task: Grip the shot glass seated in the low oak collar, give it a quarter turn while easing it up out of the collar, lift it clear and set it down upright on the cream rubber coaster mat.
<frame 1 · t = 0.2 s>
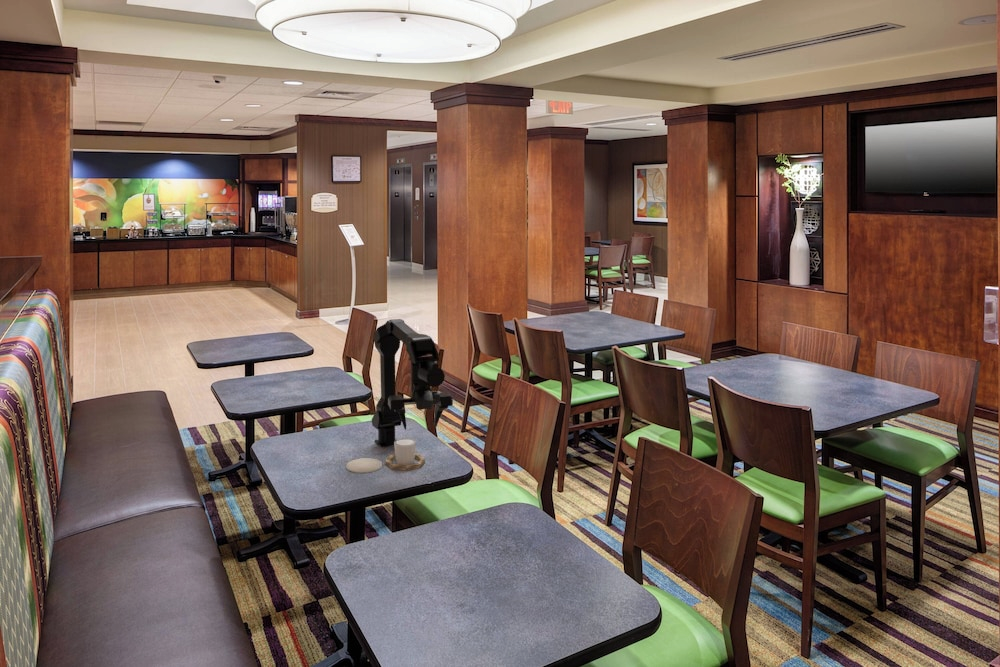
hand: (420, 427, 217), 14 cm above the table, fingers open, 9 cm apart
shot glass: (405, 463, 225), resting in oak collar
oak collar: (405, 463, 225), on the table
coaster mat: (364, 466, 222), on the table
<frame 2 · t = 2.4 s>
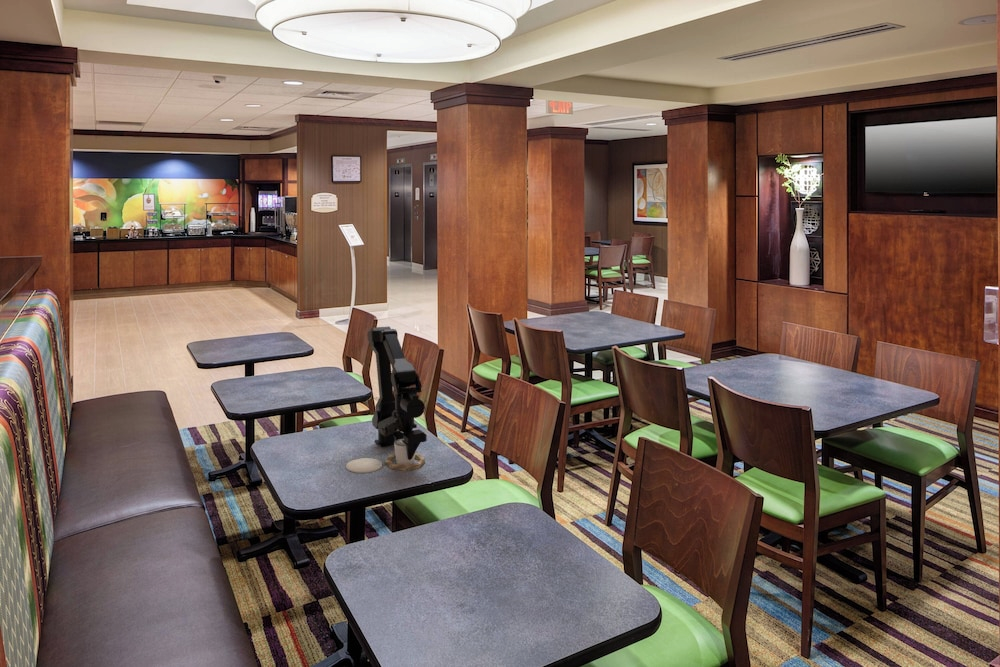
hand: (405, 456, 225), 2 cm above the table, fingers closed on shot glass, 6 cm apart
shot glass: (405, 463, 225), resting in oak collar, touching gripper
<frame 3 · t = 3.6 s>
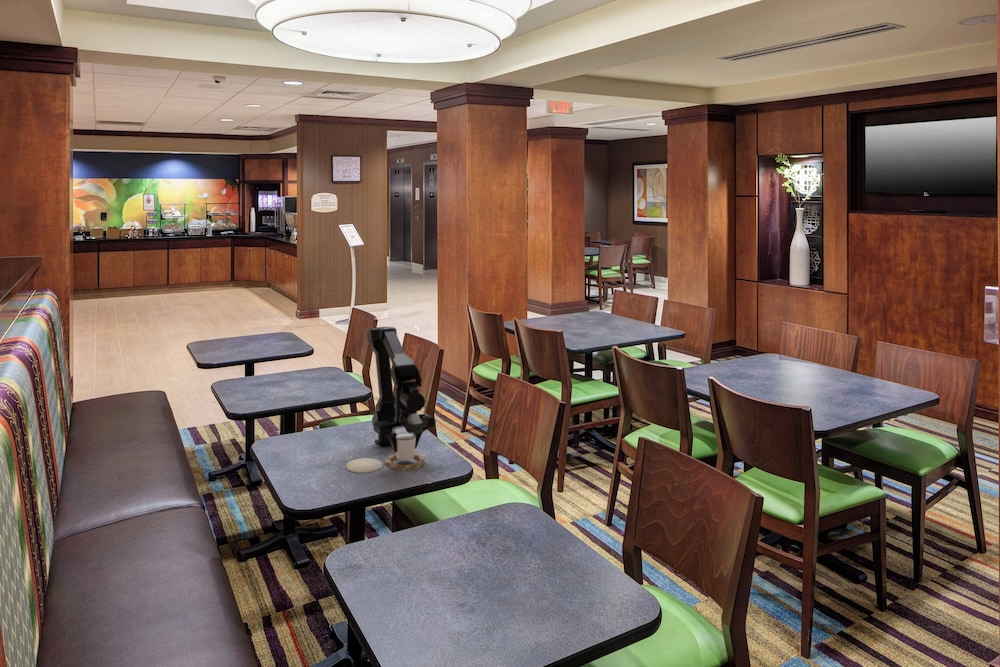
hand: (405, 450, 224), 4 cm above the table, fingers closed on shot glass, 6 cm apart
shot glass: (405, 457, 225), point 2 cm above the table, touching gripper
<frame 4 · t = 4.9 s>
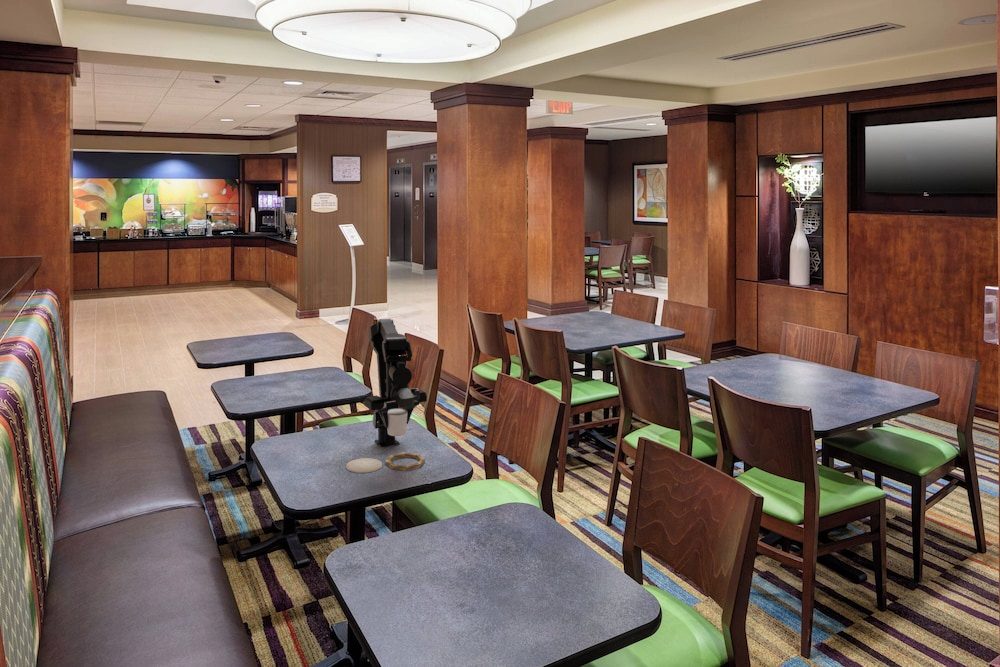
hand: (396, 425, 222), 12 cm above the table, fingers closed on shot glass, 6 cm apart
shot glass: (396, 433, 222), point 10 cm above the table, touching gripper
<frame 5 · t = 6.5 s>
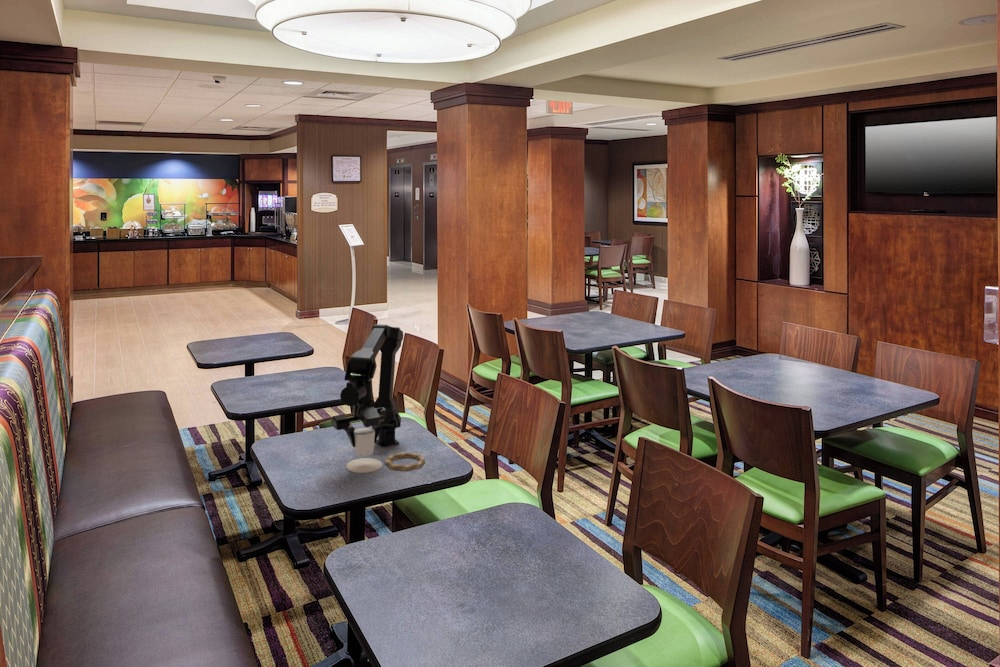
hand: (364, 444, 221), 7 cm above the table, fingers closed on shot glass, 6 cm apart
shot glass: (364, 452, 221), point 4 cm above the table, touching gripper
when the fingers open (4 cm above the table, at t = 7.9 s): shot glass drops 1 cm, resting on coaster mat.
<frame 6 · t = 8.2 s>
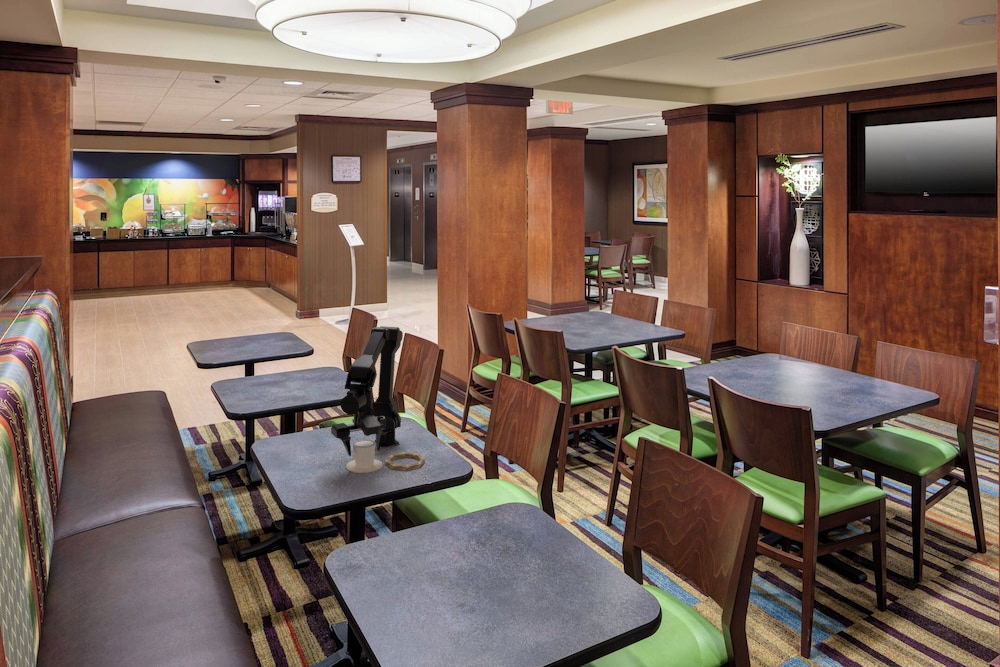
hand: (364, 453, 221), 4 cm above the table, fingers open, 9 cm apart
shot glass: (364, 465, 222), resting on coaster mat
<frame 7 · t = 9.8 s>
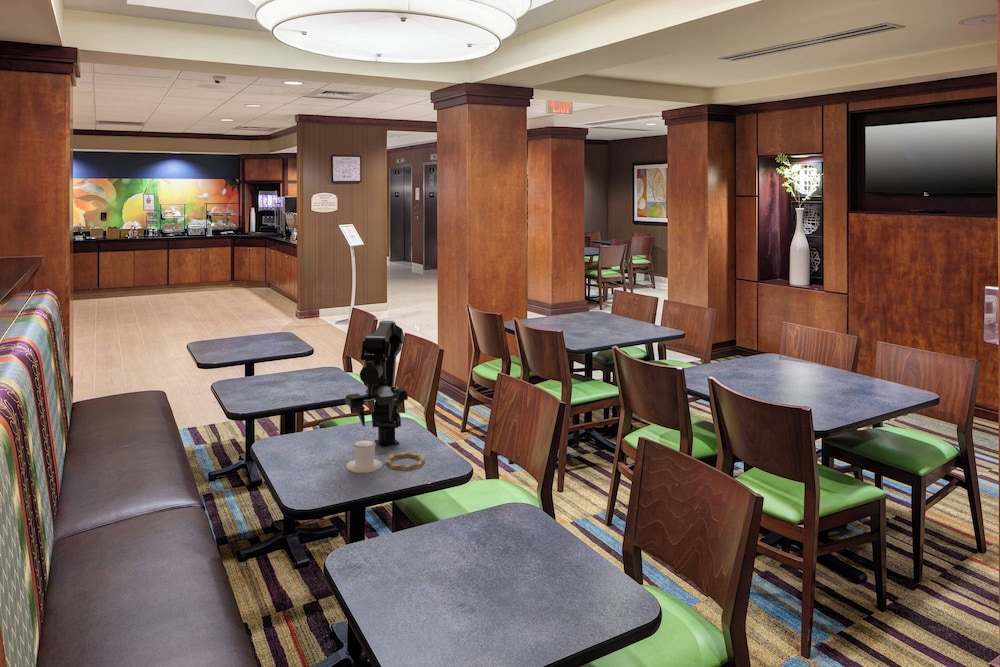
hand: (377, 423, 225), 12 cm above the table, fingers open, 9 cm apart
nothing on the table moved.
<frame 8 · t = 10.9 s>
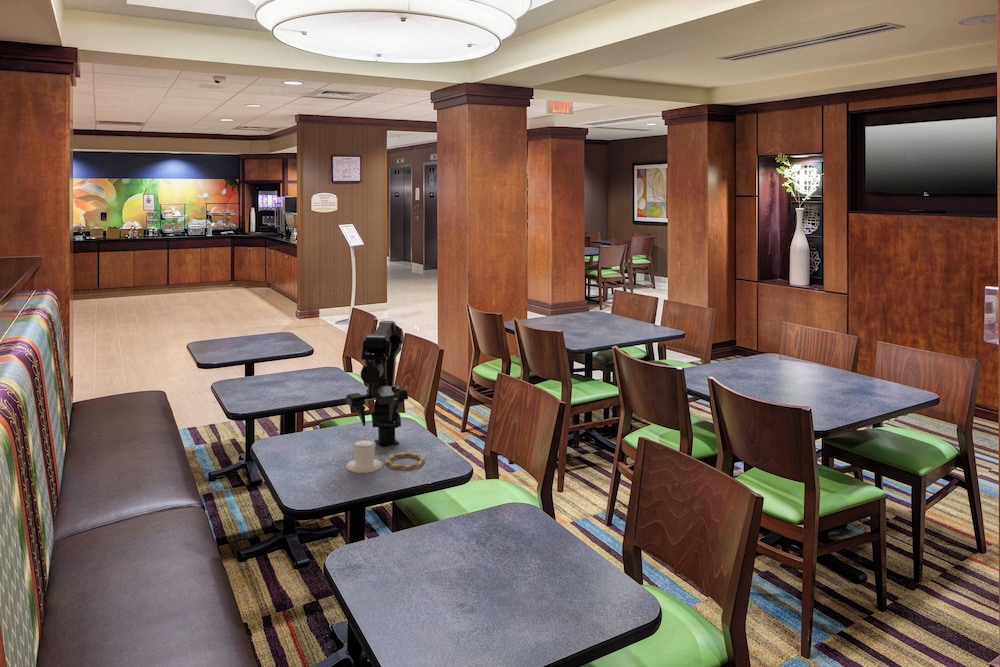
hand: (377, 423, 225), 12 cm above the table, fingers open, 9 cm apart
nothing on the table moved.
at the end: shot glass 0.1 cm off-centre on the coaster mat, point 0.2 cm above the coaster mat's base; shot glass tilted 0°; the gripper is holding nothing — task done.
